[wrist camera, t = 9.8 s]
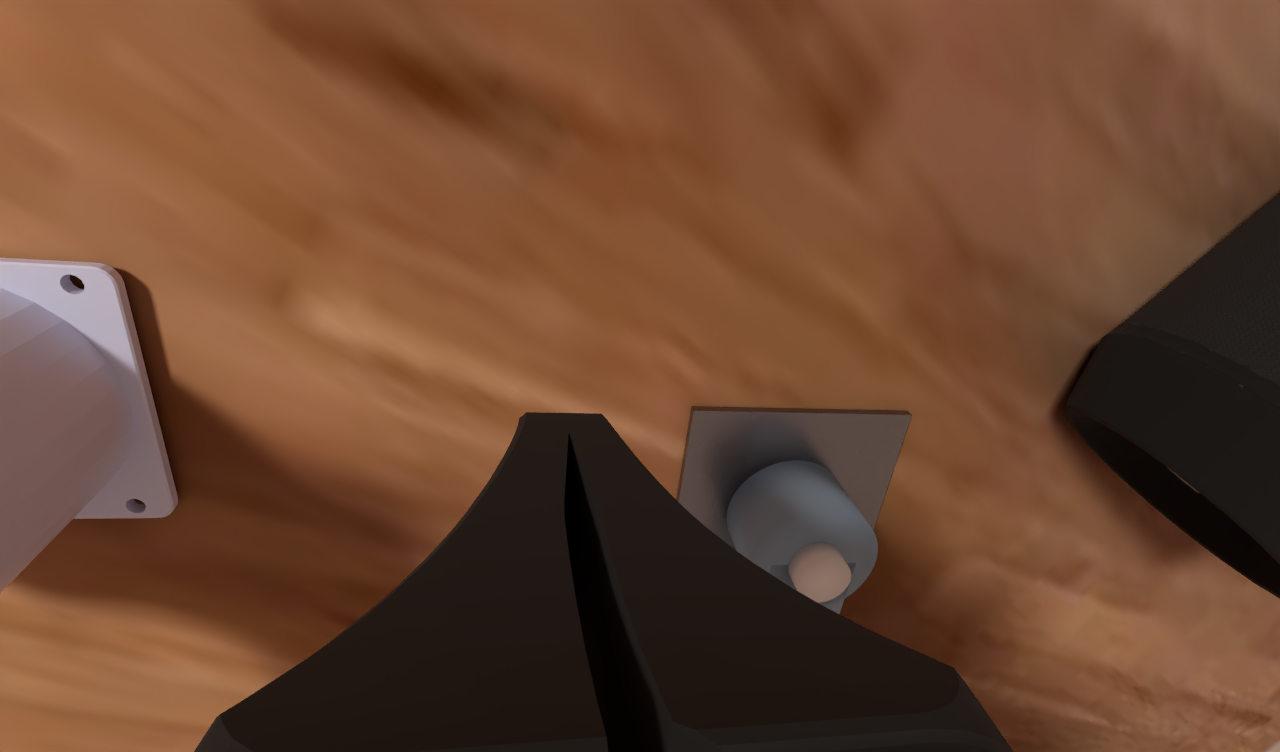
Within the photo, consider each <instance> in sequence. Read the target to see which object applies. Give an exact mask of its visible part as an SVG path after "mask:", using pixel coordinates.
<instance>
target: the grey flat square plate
mask: <svg viewBox="0 0 1280 752" xmlns="http://www.w3.org/2000/svg"><path fill="white" fill-rule="evenodd" d="M911 416H912V415H911V414H910V413H909V412H908V411H890V410H841V409H793V408H745V407H696V406H692V407H691V414H690V420H689V426H688V432H687V438H686V444H685V450H684V457H683V463H682V469H681V475H680V481H679V487H678V494H677V501H678V502H679V503H680V504H681V505H682V506H683V507H684V508H685V509H686V510H687V511H688V512H689V513H691V514H692V515H693V516H694V517H695V518H696V519H697V520H699V521H700V522H701V523H702V524H703V525H704V526H706V527H707V528H708V529H709V530H711V531H712V532H713V533H714V534H716V535H717V536H718V537H719V538H721V539H722V540H723V541H725V542H726V543H727V544H728V545H730V546H731V547H732V548H733V549H735V550H736V548H735V546H734V543H733V541H732V539H731V536H730V534H729V531H728V528H727V520H726V517H727V510H728V507H729V504H730V501H731V499H732V497H733V496H734V494H735V492H736V491H737V490H738V488H739V487H740V486H741V485H742V484H743V483H744V482H745V481H746V480H747V479H748V478H749V477H751V476H752V475H753V474H755V473H756V472H758V471H760V470H762V469H764V468H765V467H768V466H770V465H773V464H776V463H780V462H784V461H792V460H802V461H809V462H813V463H816V464H819V465H821V466H823V467H825V468H826V469H827V470H829V471H830V472H831V473H832V474H833V475H834V476H835V478H836V479H837V480H838V482H839V483H840V485H841V486H842V487H843V489H844V490H845V491H846V493H847V494H848V496H849V497H850V498H851V500H852V501H853V503H854V504H855V505H856V507H857V508H858V510H859V511H860V512H861V514H862V515H863V516H864V518H865V519H866V521H867V522H868V523H869V525H870V526H871V528H872V529H873V530H874V527H875V524H876V521H877V518H878V515H879V512H880V509H881V506H882V503H883V500H884V497H885V494H886V491H887V488H888V485H889V482H890V479H891V476H892V473H893V470H894V467H895V464H896V461H897V458H898V455H899V452H900V449H901V446H902V443H903V440H904V437H905V434H906V431H907V428H908V425H909V422H910V419H911Z"/></svg>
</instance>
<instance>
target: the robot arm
mask: <svg viewBox="0 0 1280 752" xmlns="http://www.w3.org/2000/svg"><path fill="white" fill-rule="evenodd" d="M70 275H74V276H76V277H78V278H79V279H81V280H82V282H83V284H84V289H80V288H78V287H76V286H75V285H73V283H72V282H71V280H70ZM134 499H138V500H140V501H142V502H143V503H144V504H145V505H142V504H138V503H137V502H135V501H134ZM177 505H178V496H177V492H176V488H175V484H174V480H173V476H172V472H171V468H170V464H169V460H168V456H167V452H166V448H165V444H164V440H163V436H162V432H161V428H160V424H159V420H158V416H157V412H156V408H155V404H154V400H153V396H152V392H151V388H150V384H149V380H148V376H147V372H146V368H145V364H144V360H143V356H142V352H141V348H140V344H139V340H138V336H137V332H136V328H135V324H134V320H133V316H132V312H131V308H130V304H129V300H128V296H127V292H126V288H125V284H124V281H123V279H122V277H121V275H120V274H119V273H118V272H117V271H116V270H115V269H113V268H112V267H110V266H108V265H105V264H101V263H92V262H73V261H55V260H36V259H17V258H0V593H1V592H2V591H3V590H4V589H5V588H6V587H7V586H8V585H9V584H10V583H11V582H12V581H13V580H14V579H15V578H16V577H17V576H18V575H19V574H20V573H21V572H22V571H23V570H24V569H25V568H26V567H27V565H28V564H29V563H30V562H31V561H32V560H33V559H34V558H35V557H36V556H37V555H38V554H39V553H40V552H41V551H42V550H43V549H44V548H45V547H46V546H47V545H48V544H49V543H50V542H51V541H52V540H53V539H54V538H55V537H56V536H57V535H58V534H59V533H60V532H61V531H62V530H63V529H64V528H65V527H66V526H67V524H68V523H69V522H70V521H71V520H72V519H114V518H162V517H166V516H168V515H170V514H171V513H172V511H173V510H174V509H175V508H176V506H177ZM194 752H1013V751H1012V749H1011V748H1010V746H1009V745H1008V743H1007V742H1006V740H1005V739H1004V738H1003V736H1002V735H1001V733H1000V732H999V730H998V729H997V727H996V726H995V724H994V723H993V721H992V720H991V719H990V717H989V716H988V714H987V713H986V711H985V710H984V708H983V707H982V705H981V704H980V703H979V701H978V700H977V698H976V697H975V696H974V694H973V693H972V692H971V690H970V689H969V687H968V686H967V685H966V683H965V682H964V681H963V679H962V678H961V677H960V676H959V674H958V673H957V672H956V670H955V669H954V668H953V667H950V666H948V665H946V664H944V663H942V662H939V661H937V660H935V659H933V658H930V657H928V656H926V655H924V654H921V653H919V652H917V651H915V650H912V649H910V648H908V647H906V646H904V645H901V644H899V643H897V642H895V641H892V640H890V639H888V638H886V637H883V636H881V635H879V634H877V633H874V632H872V631H870V630H868V629H866V628H864V627H862V626H860V625H858V624H856V623H854V622H853V621H851V620H849V619H847V618H845V617H843V616H841V615H839V614H838V613H836V612H834V611H832V610H830V609H828V608H826V607H824V606H823V605H821V604H819V603H817V602H815V601H814V600H812V599H810V598H809V597H807V596H805V595H803V594H802V593H800V592H798V591H796V590H795V589H793V588H791V587H790V586H788V585H787V584H785V583H784V582H782V581H781V580H779V579H777V578H776V577H774V576H773V575H771V574H770V573H768V572H767V571H765V570H764V569H762V568H761V567H759V566H757V565H756V564H754V563H753V562H752V561H750V560H749V559H747V558H746V557H745V556H743V555H742V554H740V553H739V552H737V551H736V550H735V549H733V548H732V547H731V546H730V545H728V544H727V543H726V542H725V541H723V540H722V539H721V538H719V537H718V536H717V535H716V534H714V533H713V532H712V531H711V530H709V529H708V528H707V527H706V526H704V525H703V524H702V523H701V522H700V521H699V520H697V519H696V518H695V517H694V516H693V515H692V514H691V513H689V512H688V511H687V510H686V509H685V508H684V507H683V506H682V505H681V504H680V503H679V502H678V501H677V500H676V499H675V498H674V497H673V496H672V495H671V494H670V493H669V492H668V491H667V490H666V489H665V488H664V487H663V486H662V485H661V484H660V483H659V482H658V481H657V480H656V479H655V477H654V476H653V475H652V474H651V473H650V472H649V471H648V470H647V469H646V467H645V466H644V465H643V464H642V463H641V462H640V461H639V459H638V458H637V457H636V456H635V455H634V453H633V452H632V451H631V450H630V449H629V447H628V446H627V445H626V444H625V442H624V441H623V440H622V439H621V437H620V436H619V435H618V433H617V432H616V431H615V430H614V428H613V427H612V426H611V424H610V423H609V422H608V420H607V419H606V418H605V417H604V416H603V415H602V414H584V413H529V412H527V413H525V414H524V415H523V416H522V417H521V418H519V423H518V427H517V430H516V432H515V435H514V437H513V439H512V441H511V443H510V445H509V447H508V449H507V451H506V453H505V455H504V457H503V459H502V460H501V462H500V464H499V465H498V467H497V469H496V470H495V472H494V474H493V475H492V477H491V479H490V480H489V482H488V483H487V485H486V486H485V487H484V489H483V490H482V492H481V493H480V494H479V496H478V497H477V498H476V500H475V501H474V503H473V504H472V505H471V507H470V508H469V509H468V511H467V512H466V514H465V515H464V516H463V517H462V519H461V520H460V521H459V522H458V524H457V525H456V526H455V527H454V528H453V530H452V531H451V532H450V533H449V534H448V535H447V537H446V538H445V539H444V540H443V541H442V542H441V543H440V544H439V545H438V546H437V548H436V549H435V550H434V551H433V552H432V553H431V554H430V555H429V556H428V557H427V558H426V559H425V560H424V561H423V562H422V563H421V564H420V565H419V566H418V567H417V568H416V569H415V570H414V571H413V572H412V573H411V574H410V575H409V576H408V577H407V578H406V579H405V580H404V581H403V582H402V583H401V584H400V585H399V586H397V587H396V588H395V589H394V590H393V591H392V592H391V593H390V594H389V595H387V596H386V597H385V598H384V599H383V600H382V601H381V602H379V603H378V604H377V605H376V606H375V607H373V608H372V609H371V610H370V611H368V612H367V613H366V614H365V615H363V616H362V617H361V618H360V619H358V620H357V621H356V622H355V623H353V624H352V625H351V626H350V627H348V628H347V629H346V630H345V631H343V632H342V633H341V634H339V635H338V636H337V637H336V638H334V639H333V640H332V641H331V642H329V643H328V644H327V645H326V646H324V647H323V648H321V649H320V650H319V651H317V652H316V653H315V654H313V655H312V656H310V657H309V658H308V659H306V660H305V661H303V662H301V663H300V664H298V665H297V666H295V667H294V668H292V669H291V670H289V671H288V672H286V673H285V674H283V675H281V676H280V677H278V678H277V679H275V680H274V681H272V682H271V683H269V684H268V685H266V686H265V687H263V688H261V689H260V690H258V691H257V692H255V693H254V694H252V695H251V696H249V697H248V698H246V699H245V700H243V701H241V702H240V703H238V704H237V705H235V706H233V707H232V708H230V709H228V710H227V711H225V712H223V713H222V714H220V715H219V716H218V717H217V718H216V719H215V721H214V722H213V724H212V725H211V727H210V728H209V730H208V731H207V733H206V734H205V736H204V737H203V739H202V740H201V742H200V743H199V745H198V747H197V748H196V750H195V751H194Z"/></svg>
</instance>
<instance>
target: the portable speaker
mask: <svg viewBox="0 0 1280 752" xmlns="http://www.w3.org/2000/svg"><path fill="white" fill-rule="evenodd" d="M1064 412H1065V415H1066V417H1067V419H1068V421H1069V422H1070V424H1071V425H1072V426H1073V428H1074V429H1075V430H1076V431H1077V433H1078V434H1079V435H1080V436H1081V438H1082V439H1083V440H1084V441H1085V442H1086V443H1087V444H1088V445H1089V446H1090V448H1091V449H1092V450H1093V451H1094V452H1095V453H1096V454H1097V455H1098V456H1099V457H1100V458H1101V459H1102V460H1103V461H1104V462H1105V463H1106V464H1107V465H1108V466H1109V467H1110V468H1111V469H1112V470H1113V471H1114V472H1115V473H1116V474H1118V475H1119V476H1120V477H1121V478H1122V479H1123V480H1124V481H1125V482H1126V483H1127V484H1128V485H1130V486H1131V487H1132V488H1133V489H1134V490H1135V491H1136V492H1137V493H1138V494H1139V495H1141V496H1142V497H1143V498H1144V499H1145V500H1146V501H1148V502H1149V503H1150V504H1151V505H1152V506H1154V507H1155V508H1156V509H1157V510H1158V511H1159V512H1161V513H1162V514H1163V515H1164V516H1166V517H1167V518H1168V519H1169V520H1170V521H1172V522H1173V523H1174V524H1175V525H1177V526H1178V527H1179V528H1180V529H1181V530H1183V531H1184V532H1185V533H1186V534H1188V535H1189V536H1190V537H1191V538H1193V539H1194V540H1195V541H1197V542H1198V543H1199V544H1201V545H1202V546H1203V547H1205V548H1206V549H1207V550H1209V551H1210V552H1211V553H1213V554H1214V555H1215V556H1217V557H1218V558H1219V559H1221V560H1222V561H1223V562H1225V563H1226V564H1228V565H1229V566H1231V567H1232V568H1233V569H1235V570H1236V571H1238V572H1239V573H1241V574H1242V575H1244V576H1245V577H1246V578H1248V579H1249V580H1251V581H1252V582H1254V583H1255V584H1257V585H1258V586H1260V587H1262V588H1263V589H1265V590H1267V591H1268V592H1270V593H1272V594H1273V595H1275V596H1277V597H1278V598H1280V193H1279V194H1278V195H1277V196H1275V197H1274V198H1273V199H1272V200H1271V201H1269V202H1268V203H1267V204H1266V205H1265V206H1263V207H1262V208H1261V209H1260V210H1259V211H1257V212H1256V213H1255V214H1254V215H1253V216H1251V217H1250V218H1249V219H1248V220H1247V221H1245V222H1244V223H1243V224H1242V225H1241V226H1239V227H1238V228H1237V229H1236V230H1235V231H1233V232H1232V233H1231V234H1230V235H1229V236H1227V237H1226V238H1225V239H1224V240H1223V241H1221V242H1220V243H1219V244H1218V245H1217V246H1215V247H1214V248H1213V249H1212V250H1211V251H1209V252H1208V253H1207V254H1206V255H1205V256H1203V257H1202V258H1201V259H1200V260H1199V261H1197V262H1196V263H1195V264H1194V265H1192V266H1191V267H1190V268H1189V269H1188V270H1186V271H1185V272H1184V273H1183V274H1182V275H1180V276H1179V277H1178V278H1177V279H1176V280H1174V281H1173V282H1172V283H1171V284H1170V285H1168V286H1167V287H1166V288H1165V289H1164V290H1162V291H1161V292H1160V293H1159V294H1158V295H1156V296H1155V297H1154V298H1153V299H1152V300H1150V301H1149V302H1148V303H1147V304H1146V305H1144V306H1143V307H1142V308H1141V309H1140V310H1138V311H1137V312H1136V313H1135V314H1134V315H1132V316H1131V317H1130V318H1129V319H1127V320H1126V321H1125V322H1123V323H1122V324H1121V325H1120V326H1118V327H1117V328H1116V329H1114V330H1113V331H1112V332H1110V333H1109V334H1108V335H1106V336H1104V337H1103V338H1102V339H1101V341H1100V343H1099V344H1098V346H1097V348H1096V350H1095V352H1094V353H1093V355H1092V357H1091V359H1090V361H1089V362H1088V364H1087V366H1086V368H1085V370H1084V371H1083V373H1082V375H1081V377H1080V379H1079V380H1078V382H1077V384H1076V386H1075V388H1074V389H1073V391H1072V393H1071V395H1070V396H1069V398H1068V400H1067V402H1066V404H1065V407H1064Z"/></svg>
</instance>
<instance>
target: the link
mask: <svg viewBox="0 0 1280 752" xmlns="http://www.w3.org/2000/svg"><path fill="white" fill-rule="evenodd" d="M726 520H727V528H728V531H729V534H730V536H731V539H732V541H733V543H734V546H735V548H736V551H737V552H739V553H740V554H742V555H743V556H745V557H746V558H747V559H749V560H750V561H752V562H753V563H754V564H756V565H757V566H759V567H761V568H762V569H764V570H765V571H767V572H768V573H770V574H771V575H773V576H774V577H776V578H777V579H779V580H781V581H782V582H784V583H785V584H787V585H788V586H790V587H791V588H793V589H795V590H796V591H798V592H800V593H802V594H803V595H805V596H807V597H809V598H810V599H812V600H814V601H815V602H817V603H819V604H821V605H823V606H824V607H826V608H828V609H830V610H832V611H834V612H836V613H838V614H840V611H841V608H842V605H843V602H844V599H845V598H847V597H848V596H849V595H851V594H852V593H853V592H855V591H856V590H857V589H858V588H859V587H860V586H861V585H862V584H863V583H864V582H865V580H866V579H867V578H868V576H869V575H870V573H871V571H872V570H873V567H874V565H875V563H876V559H877V555H878V542H877V537H876V535H875V533H874V531H873V529H872V528H871V526H870V525H869V523H868V522H867V521H866V519H865V518H864V516H863V515H862V514H861V512H860V511H859V510H858V508H857V507H856V505H855V504H854V503H853V501H852V500H851V498H850V497H849V496H848V494H847V493H846V491H845V490H844V489H843V487H842V486H841V485H840V483H839V482H838V480H837V479H836V478H835V476H834V475H833V474H832V473H831V472H830V471H829V470H827V469H826V468H825V467H823V466H821V465H819V464H816V463H813V462H809V461H802V460H792V461H784V462H780V463H776V464H773V465H770V466H768V467H765V468H764V469H762V470H760V471H758V472H756V473H755V474H753V475H752V476H751V477H749V478H748V479H747V480H746V481H745V482H744V483H743V484H742V485H741V486H740V487H739V488H738V490H737V491H736V492H735V494H734V496H733V497H732V499H731V501H730V504H729V507H728V510H727V517H726Z"/></svg>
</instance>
